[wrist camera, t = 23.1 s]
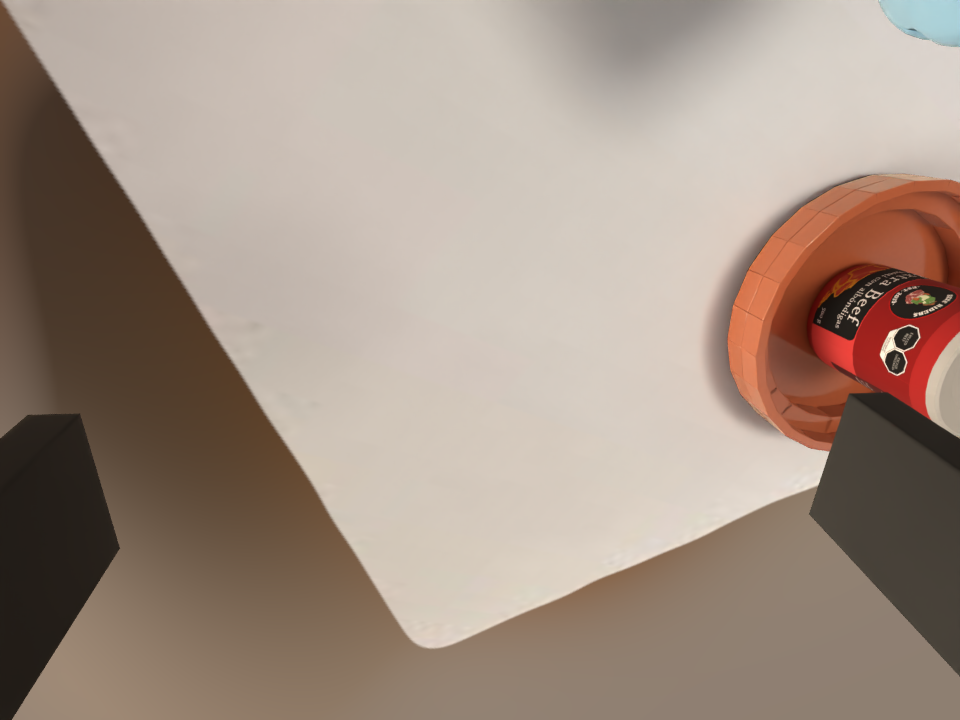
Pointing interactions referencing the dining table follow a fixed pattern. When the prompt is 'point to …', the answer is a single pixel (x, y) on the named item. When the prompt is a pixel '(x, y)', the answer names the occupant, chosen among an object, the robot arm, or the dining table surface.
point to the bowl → (809, 267)
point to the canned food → (893, 337)
